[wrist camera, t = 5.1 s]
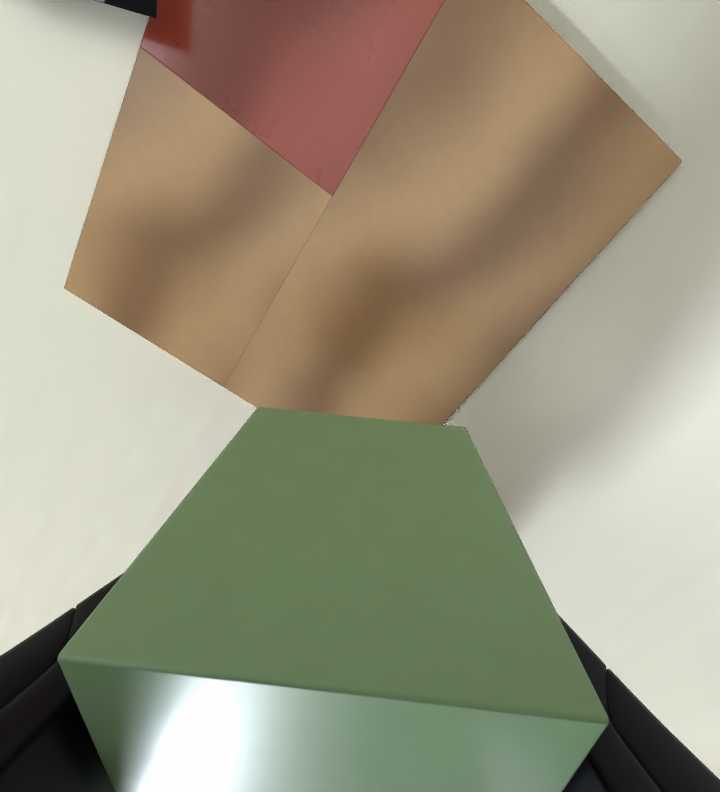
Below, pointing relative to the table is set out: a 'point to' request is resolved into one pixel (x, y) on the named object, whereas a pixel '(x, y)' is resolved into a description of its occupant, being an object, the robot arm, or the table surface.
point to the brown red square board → (356, 195)
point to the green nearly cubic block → (334, 627)
